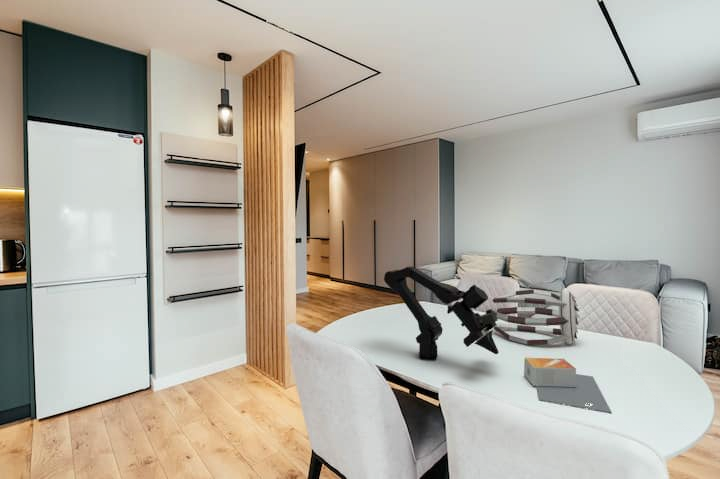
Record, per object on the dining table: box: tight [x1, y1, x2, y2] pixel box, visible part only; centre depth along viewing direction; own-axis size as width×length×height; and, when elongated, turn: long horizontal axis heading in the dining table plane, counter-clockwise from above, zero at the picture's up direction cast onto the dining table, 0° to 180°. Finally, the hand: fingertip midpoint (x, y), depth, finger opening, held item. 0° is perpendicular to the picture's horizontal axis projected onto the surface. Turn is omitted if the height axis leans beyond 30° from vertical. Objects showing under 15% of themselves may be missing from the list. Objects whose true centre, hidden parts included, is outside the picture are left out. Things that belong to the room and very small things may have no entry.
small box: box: [523, 357, 577, 387], centre depth 114 cm, size 8×6×13 cm
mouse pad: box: [535, 373, 612, 414], centre depth 110 cm, size 18×24×1 cm
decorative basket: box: [491, 287, 580, 346], centre depth 156 cm, size 24×27×35 cm
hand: (497, 353), depth 119 cm, fingers closed
